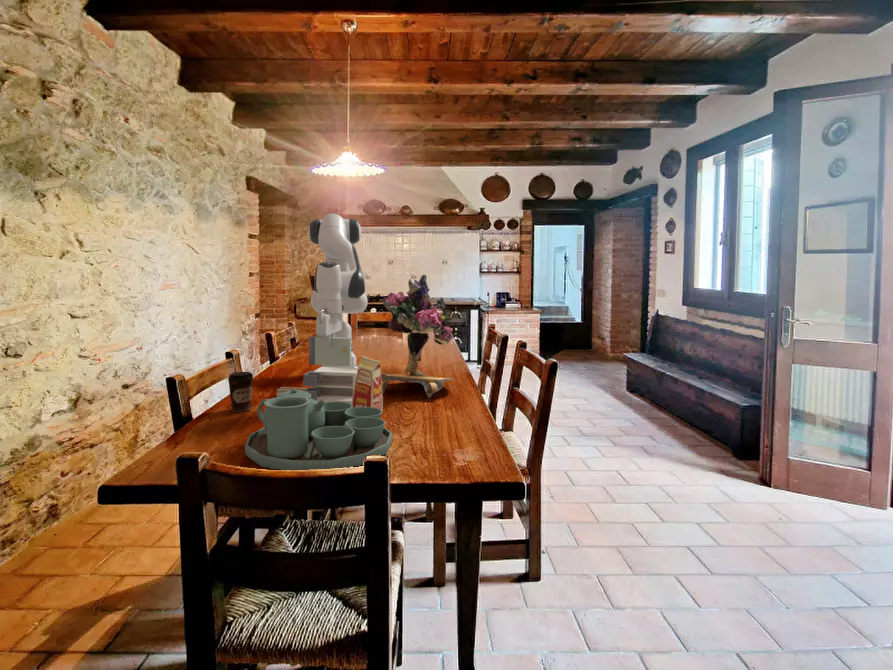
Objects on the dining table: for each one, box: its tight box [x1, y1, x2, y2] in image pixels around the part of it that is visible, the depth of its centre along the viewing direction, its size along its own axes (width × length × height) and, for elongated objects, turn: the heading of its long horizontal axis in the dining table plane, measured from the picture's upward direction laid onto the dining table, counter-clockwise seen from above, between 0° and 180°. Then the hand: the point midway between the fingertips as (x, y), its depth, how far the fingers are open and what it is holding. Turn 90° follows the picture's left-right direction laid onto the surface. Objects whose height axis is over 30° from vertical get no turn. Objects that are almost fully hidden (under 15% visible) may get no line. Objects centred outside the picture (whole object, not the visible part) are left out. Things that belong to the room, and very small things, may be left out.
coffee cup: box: [227, 371, 254, 413], centre depth 193 cm, size 9×8×13 cm
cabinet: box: [302, 366, 358, 404], centre depth 209 cm, size 16×18×11 cm
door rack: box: [276, 386, 307, 397], centre depth 214 cm, size 5×10×3 cm, turn 85°
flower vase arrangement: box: [381, 274, 454, 399], centre depth 227 cm, size 33×44×45 cm
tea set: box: [244, 389, 393, 471], centre depth 157 cm, size 40×40×16 cm
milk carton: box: [352, 355, 384, 411], centre depth 192 cm, size 9×9×20 cm
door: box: [308, 335, 351, 366], centre depth 201 cm, size 3×15×10 cm, turn 85°
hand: (329, 346), depth 201 cm, fingers closed on door, 2 cm apart
